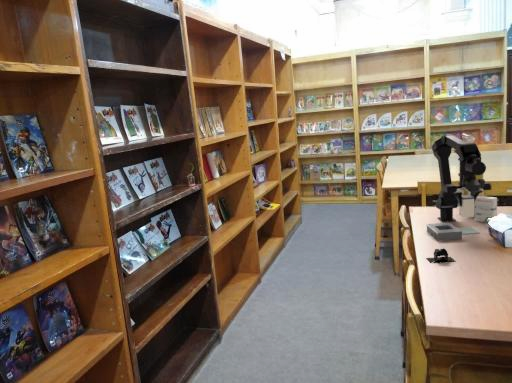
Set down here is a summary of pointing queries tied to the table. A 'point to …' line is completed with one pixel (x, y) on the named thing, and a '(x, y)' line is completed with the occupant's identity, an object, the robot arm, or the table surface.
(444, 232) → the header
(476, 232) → the mat
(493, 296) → the table surface
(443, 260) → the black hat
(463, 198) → the plug
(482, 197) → the ink box
